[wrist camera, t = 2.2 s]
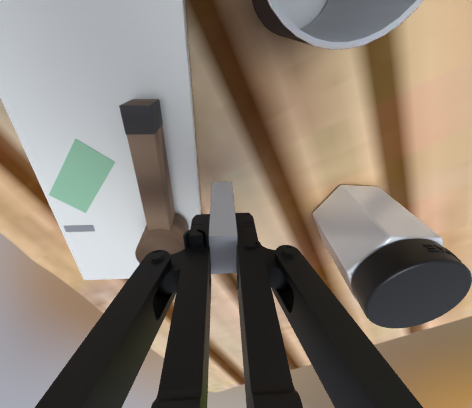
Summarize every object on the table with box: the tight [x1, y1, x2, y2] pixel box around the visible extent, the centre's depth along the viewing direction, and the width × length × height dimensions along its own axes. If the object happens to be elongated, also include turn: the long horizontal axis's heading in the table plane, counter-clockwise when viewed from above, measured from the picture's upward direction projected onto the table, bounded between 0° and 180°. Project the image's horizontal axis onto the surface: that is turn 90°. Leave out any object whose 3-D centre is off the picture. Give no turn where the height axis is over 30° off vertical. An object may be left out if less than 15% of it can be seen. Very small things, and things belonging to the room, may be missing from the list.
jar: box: [313, 185, 472, 328], centre depth 24 cm, size 9×8×12 cm
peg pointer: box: [119, 99, 189, 263], centre depth 22 cm, size 15×4×4 cm, turn 179°
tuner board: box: [0, 0, 201, 280], centre depth 23 cm, size 30×15×2 cm, turn 179°
